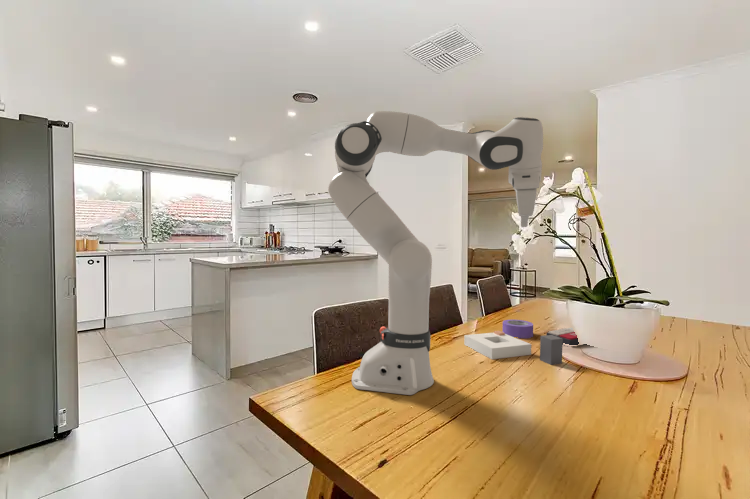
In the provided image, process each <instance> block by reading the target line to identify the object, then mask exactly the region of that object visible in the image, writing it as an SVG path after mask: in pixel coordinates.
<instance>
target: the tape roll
mask: <svg viewBox="0 0 750 499" xmlns="http://www.w3.org/2000/svg"><path fill="white" fill-rule="evenodd" d="M502 332H504V333H505V334H507V335H509V336H512V337H518V338H517V339H531V337H532V338H533V337H534V323H533V322H532V321H531V322H530V321H528V320H524V319H523V320H522V319H504V320H503V321H502Z"/></svg>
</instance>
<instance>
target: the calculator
mask: <svg viewBox="0 0 750 499" xmlns="http://www.w3.org/2000/svg"><path fill="white" fill-rule="evenodd" d="M545 335H553V336H556V337H559V338H562V339H563V343H565V344H569V345H578V344H579V342H578V338H577V335H576V334H575V332H574V330H573V328H572V327H566V328H565V327H564V328H559V329H555V330H549V331H548V332H546V334H545Z"/></svg>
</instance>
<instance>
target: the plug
mask: <svg viewBox="0 0 750 499" xmlns="http://www.w3.org/2000/svg"><path fill="white" fill-rule="evenodd" d="M539 338H540V343H539V361H541V362H543V363H546V364H548V365H550V366H552V365H553V366H554V365H559V364H563V346H564V345H563V339H562V338H559V337H556V336H553V335H546V334H545V335H540V337H539Z"/></svg>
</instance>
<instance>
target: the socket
mask: <svg viewBox="0 0 750 499" xmlns="http://www.w3.org/2000/svg"><path fill="white" fill-rule="evenodd" d="M463 337H464V340H463V341H464V343H463V344H464V346H466V347H467V346H468V348H469V347H470V348H469V349H471V348H472V349H471V350H473V349H474V350H473V351H475V352H477V353H478V354H480V355H483V356H485V357H487V358H488V359H491V360H498V359H505V358H514V357H516V358H517V357H523V356H524V357H525V356H531V355H532V343H529V342H527V341H524V340H522V339H520V338H514V337H512V336H509V335H507V334H505V333H504V332H503V331H501V330H494V331H493V332H487V333H486V332H485V333H476V334H475V333H474V334H464V336H463Z"/></svg>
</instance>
